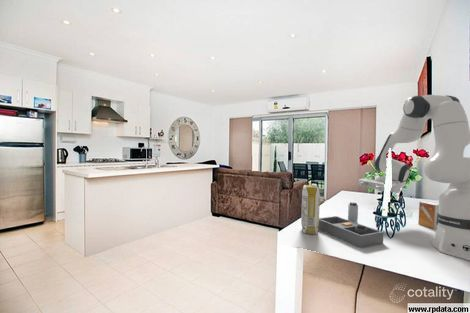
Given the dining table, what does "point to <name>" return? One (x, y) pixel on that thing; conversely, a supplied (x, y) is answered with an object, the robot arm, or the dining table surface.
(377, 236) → the grey compartment tray
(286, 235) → the dining table surface
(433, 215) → the small box
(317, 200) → the juice carton
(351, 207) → the grey plug
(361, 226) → the twin plug
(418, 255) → the dining table surface
